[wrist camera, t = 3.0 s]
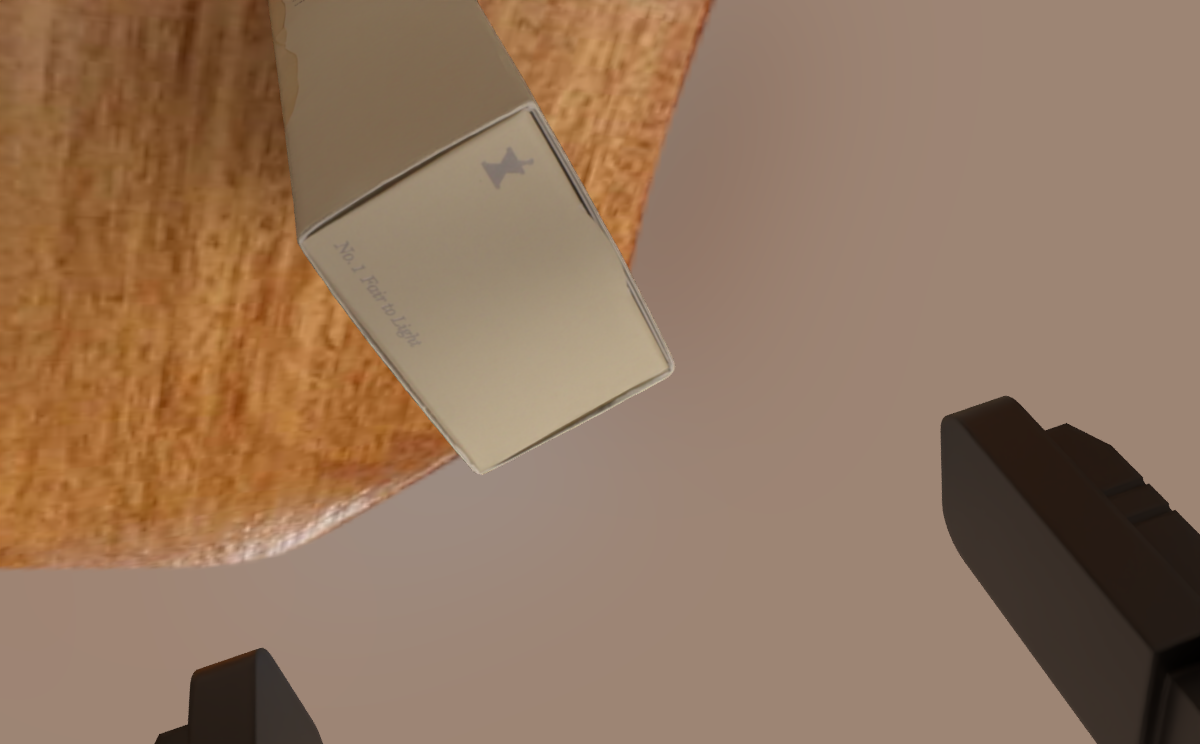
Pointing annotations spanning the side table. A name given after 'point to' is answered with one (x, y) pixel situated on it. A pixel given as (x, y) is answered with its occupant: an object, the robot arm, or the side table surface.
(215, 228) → the side table surface
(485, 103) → the cosmetic box
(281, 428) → the side table surface
